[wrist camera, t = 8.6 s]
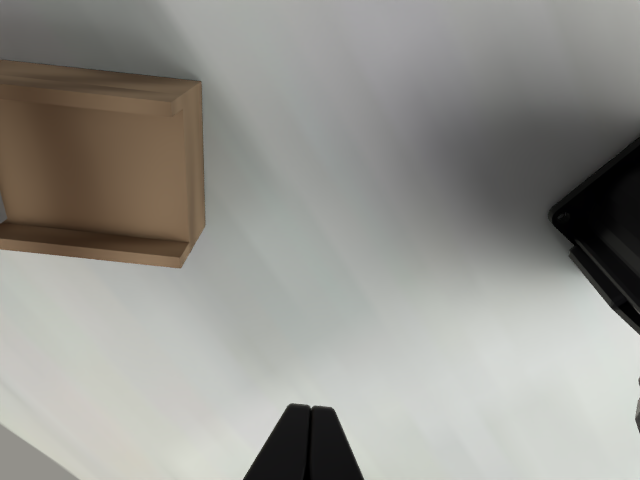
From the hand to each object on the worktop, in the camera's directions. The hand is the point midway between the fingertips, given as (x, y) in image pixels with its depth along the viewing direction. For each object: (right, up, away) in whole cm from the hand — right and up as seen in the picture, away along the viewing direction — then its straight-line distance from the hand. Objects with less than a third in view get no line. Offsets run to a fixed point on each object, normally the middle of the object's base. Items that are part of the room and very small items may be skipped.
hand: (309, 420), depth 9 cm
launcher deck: (-9, +7, +11) cm, 16 cm away
